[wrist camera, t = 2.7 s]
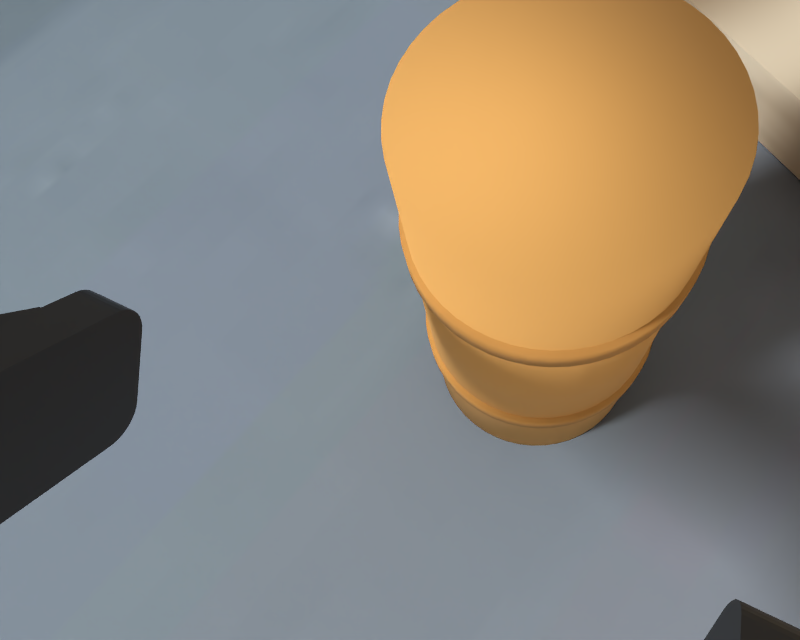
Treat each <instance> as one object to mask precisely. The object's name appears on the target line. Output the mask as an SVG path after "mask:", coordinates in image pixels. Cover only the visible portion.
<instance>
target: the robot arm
mask: <svg viewBox="0 0 800 640" xmlns="http://www.w3.org/2000/svg"><path fill="white" fill-rule="evenodd" d="M141 338H142V322H141V319H140V316H139V315H138V314H137V313H136V312H135V311H133V310H131V309H129V308H127V307H125V306H123V305H120V304H118V303H116V302H114V301H112V300H110V299H108V298H106V297H104V296H102V295H99V294H97V293H95V292H93V291H90V290H81V291H78V292H75V293H73V294H70V295H68V296H66V297H64V298H62V299H59V300H57V301H55V302H53V303H50V304H48V305H46V306H44V307H42V308H40V307H37V308H32V309H26V310H21V311H16V312H10V313H5V314H0V524H1V523H2V522H4V521H5V520H7V519H8V518H9V517H11V516H12V515H14V514H15V513H17V512H18V511H19V510H21V509H22V508H24V507H25V506H26V505H28V504H29V503H31V502H32V501H33V500H35V499H36V498H38V497H39V496H41V495H42V494H43V493H45V492H46V491H48V490H49V489H50V488H52V487H53V486H55V485H56V484H57V483H59V482H60V481H62V480H63V479H64V478H66V477H67V476H69V475H70V474H72V473H73V472H74V471H76V470H77V469H79V468H80V467H81V466H83V465H84V464H86V463H87V462H88V461H90V460H91V459H93V458H94V457H96V456H97V455H98V454H100V453H101V452H103V451H104V450H105V449H107V448H108V447H110V446H111V445H112V444H113V443H115V442H116V441H117V440H118V439H119V438H120V437H121V435H122V434H123V433H124V432H125V430H126V429H127V427H128V426H129V424H130V422H131V420H132V418H133V415H134V413H135V409H136V405H137V395H138V380H139V366H140V352H141ZM704 640H800V629H798V628H796V627H794V626H792V625H790V624H788V623H786V622H784V621H781V620H779V619H777V618H775V617H773V616H771V615H769V614H767V613H765V612H762V611H760V610H758V609H756V608H754V607H752V606H750V605H748V604H746V603H744V602H741V601H739V600H737V599H735V600H733V601H731V602H730V603H729V604H728V605H727V606H726V607H725V609H724V610H723V612H722V613H721V615H720V616H719V618H718V619H717V621H716V622H715V624H714V625H713V627H712V628H711V630H710V632H709V633H708V635H707V636H706V638H705V639H704Z"/></svg>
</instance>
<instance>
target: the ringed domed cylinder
mask: <svg viewBox="0 0 800 640" xmlns="http://www.w3.org/2000/svg"><path fill="white" fill-rule="evenodd" d="M758 135H759V122H758V108H757V102H756V97H755V92H754V89H753V86H752V83H751V80H750V77H749V74H748V72H747V69H746V68H745V66H744V64H743V62H742V60H741V58H740V56H739V55H738V53H737V51H736V50H735V48H734V47H733V46H732V44H731V43H730V42H729V40H728V39H727V38H726V36H725V35H724V34H723V33H722V32H721V31H720V30H719V29H718V28H717V27H716V26H715V25H714V24H713V22H712V21H711V20H710V19H709V18H707V17H706V16H705V15H703V14H702V13H701V12H700V11H698V10H697V9H696V8H695V7H693V6H692V5H691V4H689V3H687V2H686V1H684V0H460V1H458V2H456V3H455V4H454V5H452V6H451V7H449V8H448V9H447V10H445V11H444V12H442V13H441V14H440V15H439V16H437V17H436V18H435V19H434V20H433V21H432V22H431V23H430V24H429V25H428V26H426V27H425V28H424V29H423V31H422V32H421V33H420V34H419V35H418V36H417V38H416V39H415V40H414V41H413V42H412V43H411V45H410V46H409V48H408V49H407V51H406V52H405V54H404V55H403V57H402V58H401V60H400V61H399V63H398V65H397V68H396V70H395V72H394V74H393V76H392V78H391V80H390V83H389V87H388V90H387V93H386V96H385V100H384V106H383V112H382V118H381V140H382V147H383V154H384V160H385V164H386V167H387V171H388V175H389V178H390V182H391V186H392V189H393V193H394V197H395V200H396V204H397V208H398V211H399V231H400V238H401V245H402V248H403V252H404V255H405V258H406V262H407V265H408V269H409V272H410V275H411V278H412V280H413V282H414V284H415V286H416V288H417V291H418V293H419V294H420V296H421V297H422V299H423V303H424V307H425V310H426V325H427V332H428V338H429V341H430V345H431V348H432V351H433V355H434V358H435V360H436V362H437V364H438V367H439V369H440V371H441V372H442V374H443V376H444V379H445V383H446V386H447V388H448V390H449V392H450V395H451V397H452V398H453V400H454V401H455V403H456V405H457V406H458V407H459V408H460V410H461V411H462V412H463V413H464V415H465V416H466V417H468V418H469V419H470V420H471V421H472V422H473V423H474V424H475V425H477V426H478V427H480V428H481V429H482V430H484V431H486V432H487V433H489V434H491V435H493V436H495V437H497V438H500V439H503V440H505V441H508V442H513V443H517V444H523V445H550V444H556V443H560V442H564V441H567V440H570V439H573V438H575V437H577V436H579V435H582V434H583V433H585V432H586V431H588V430H590V429H591V428H593V427H594V426H595V425H596V424H598V423H599V422H600V421H601V420H602V419H603V418H604V417H605V416H606V415H607V414H608V413H609V412H610V410H611V409H612V407H613V406H614V405H615V403H616V402H617V400H618V399H619V398H620V397H621V396H622V395H623V394H624V393H625V392H626V390H627V389H628V388H629V387H630V386H631V384H632V383H633V381H634V380H635V378H636V377H637V376H638V374H639V372H640V371H641V369H642V367H643V365H644V363H645V361H646V359H647V357H648V355H649V352H650V349H651V346H652V343H653V340H654V338H655V336H656V335H657V333H658V331H659V330H660V328H661V327H662V326H663V325H664V324H665V323H666V322H667V321H668V320H669V319H670V318H671V317H672V316H673V315H674V313H675V312H676V311H677V310H678V308H679V307H680V305H681V304H682V303H683V301H684V300H685V298H686V297H687V295H688V294H689V292H690V290H691V289H692V287H693V286H694V284H695V282H696V280H697V278H698V276H699V274H700V272H701V270H702V268H703V266H704V264H705V261H706V258H707V255H708V251H709V248H710V245H711V243H712V241H713V240H714V238H715V236H716V235H717V233H718V231H719V230H720V228H721V226H722V225H723V223H724V221H725V220H726V218H727V216H728V215H729V213H730V211H731V210H732V208H733V206H734V205H735V203H736V201H737V200H738V198H739V196H740V194H741V192H742V190H743V188H744V186H745V184H746V182H747V180H748V178H749V175H750V172H751V169H752V166H753V162H754V159H755V156H756V150H757V143H758Z"/></svg>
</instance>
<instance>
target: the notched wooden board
mask: <svg viewBox="0 0 800 640" xmlns="http://www.w3.org/2000/svg"><path fill="white" fill-rule="evenodd" d="M684 1H686V2H687V3H689V4H691V5H692V6H693V7H695V8H696V9H697V10H698V11H700V12H701V13H702V14H703V15H705V16H706V17H707V18H709V19H710V20H711V21H712V22H713V24H714V25H715V26H716V27H717V28H718V29H719V30H720V31H721V32H722V33H723V34H724V35H725V36H726V38H727V39H728V40H729V42H730V43H731V44H732V46H733V47H734V48H735V50H736V51H737V53H738V55H739V56H740V58H741V60H742V62H743V64H744V66H745V68H746V69H747V72H748V74H749V77H750V80H751V83H752V86H753V89H754V92H755V97H756V102H757V108H758V122H759V135H758V141H759V142H760V143H761V144H762V145H763V146H764V147H766V148H767V149H768V150H769V151H770V152H771V153H772V154H773V155H774V156H775V157H776V158H777V159H778V160H779V161H780V162H781V163H782V164H783V165H784V166H786V167H787V168H788V169H789V170H790V171H791V172H792V173H793V174H794V175H795V176H796V177H797V178H798V179H799V180H800V0H684Z"/></svg>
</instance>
